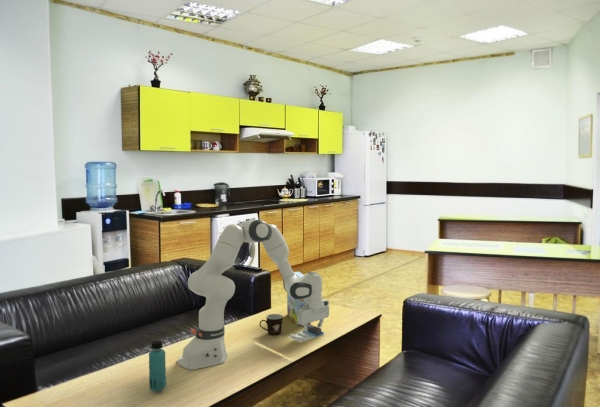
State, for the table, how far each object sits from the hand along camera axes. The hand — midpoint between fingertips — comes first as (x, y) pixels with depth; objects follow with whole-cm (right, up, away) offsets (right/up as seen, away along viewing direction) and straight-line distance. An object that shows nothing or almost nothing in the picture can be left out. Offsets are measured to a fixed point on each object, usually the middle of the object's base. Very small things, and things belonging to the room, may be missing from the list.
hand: (313, 329), depth 245 cm
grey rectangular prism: (0, -2, 0) cm, 2 cm away
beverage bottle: (-62, -8, -61) cm, 88 cm away
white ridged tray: (-3, -3, -3) cm, 5 cm away
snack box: (-8, -1, +23) cm, 24 cm away
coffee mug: (-22, -3, -1) cm, 22 cm away
